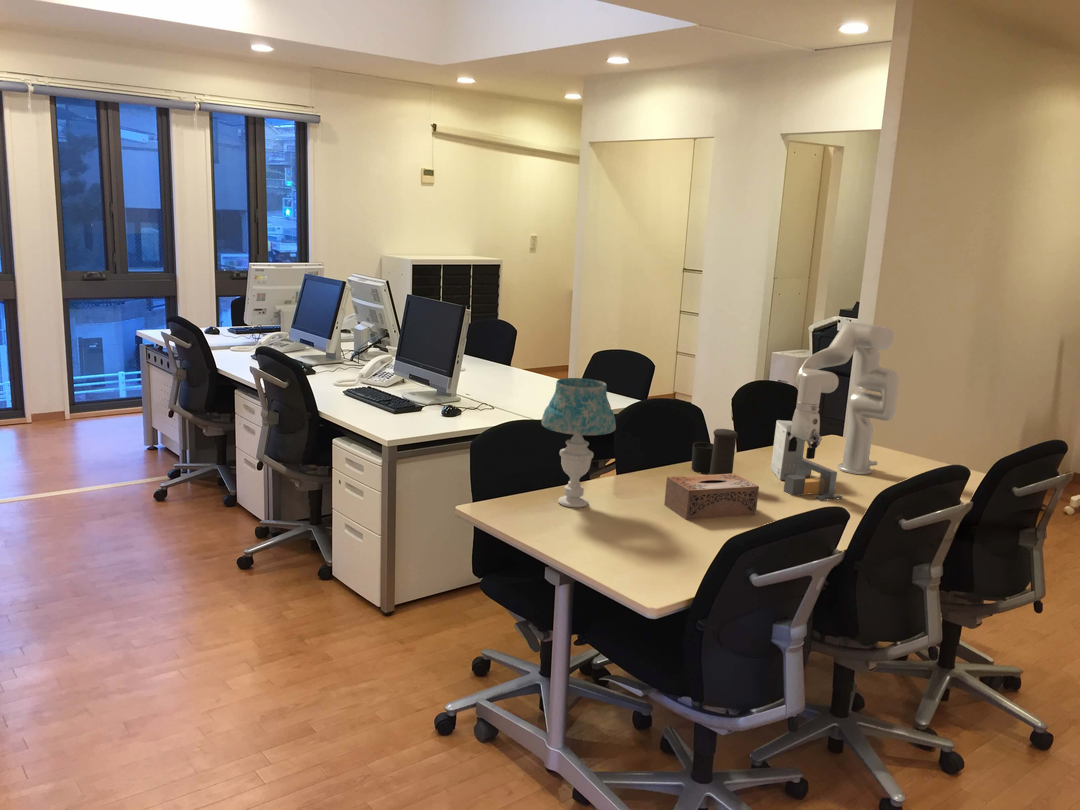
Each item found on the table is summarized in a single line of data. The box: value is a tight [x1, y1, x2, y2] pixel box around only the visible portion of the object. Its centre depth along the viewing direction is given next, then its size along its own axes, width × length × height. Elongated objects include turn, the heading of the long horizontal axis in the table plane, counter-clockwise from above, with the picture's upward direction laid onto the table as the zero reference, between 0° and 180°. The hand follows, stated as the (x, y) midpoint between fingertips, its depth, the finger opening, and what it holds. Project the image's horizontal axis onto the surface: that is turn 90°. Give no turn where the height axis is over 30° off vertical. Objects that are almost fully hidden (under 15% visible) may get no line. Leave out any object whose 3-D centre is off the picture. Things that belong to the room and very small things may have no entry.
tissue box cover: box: [663, 473, 760, 521], centre depth 279 cm, size 26×14×10 cm, turn 110°
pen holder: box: [691, 441, 714, 474], centre depth 325 cm, size 9×9×10 cm
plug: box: [783, 475, 820, 496], centre depth 306 cm, size 16×5×6 cm, turn 113°
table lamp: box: [541, 377, 617, 509], centre depth 274 cm, size 24×24×40 cm
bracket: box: [796, 457, 843, 501], centre depth 307 cm, size 10×18×10 cm, turn 22°
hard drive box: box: [770, 419, 806, 481], centre depth 325 cm, size 16×8×20 cm, turn 179°
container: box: [709, 428, 739, 475], centre depth 309 cm, size 9×9×20 cm
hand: (800, 454), depth 301 cm, fingers open, 9 cm apart
